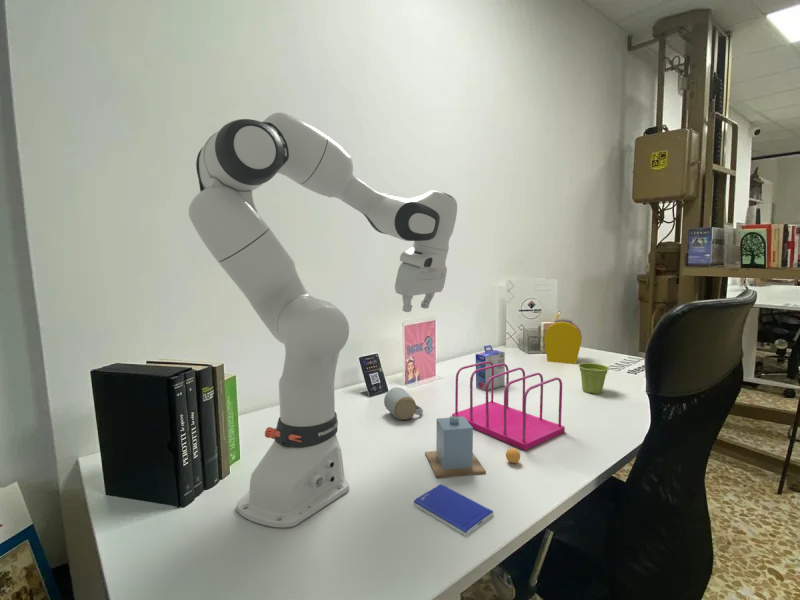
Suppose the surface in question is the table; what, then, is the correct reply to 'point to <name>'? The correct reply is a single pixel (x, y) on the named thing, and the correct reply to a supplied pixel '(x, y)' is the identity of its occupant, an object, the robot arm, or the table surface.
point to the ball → (513, 455)
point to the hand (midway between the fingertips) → (415, 309)
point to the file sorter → (509, 413)
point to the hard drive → (453, 509)
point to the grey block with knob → (454, 442)
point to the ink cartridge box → (484, 375)
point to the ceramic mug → (401, 404)
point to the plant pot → (593, 377)
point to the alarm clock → (562, 341)
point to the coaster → (441, 473)
